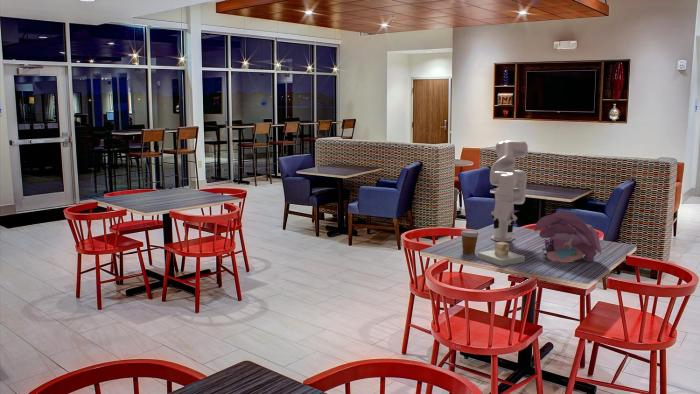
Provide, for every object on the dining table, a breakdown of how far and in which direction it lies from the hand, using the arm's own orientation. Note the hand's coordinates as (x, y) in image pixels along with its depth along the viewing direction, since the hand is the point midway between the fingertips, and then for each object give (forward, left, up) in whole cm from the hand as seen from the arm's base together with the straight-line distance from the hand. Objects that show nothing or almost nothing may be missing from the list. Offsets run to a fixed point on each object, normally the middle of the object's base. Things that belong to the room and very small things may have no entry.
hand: (502, 230), depth 325 cm
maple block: (0, 0, -13) cm, 13 cm away
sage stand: (0, 0, -16) cm, 16 cm away
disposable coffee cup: (+5, -19, -16) cm, 25 cm away
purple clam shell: (-34, +15, -16) cm, 40 cm away
